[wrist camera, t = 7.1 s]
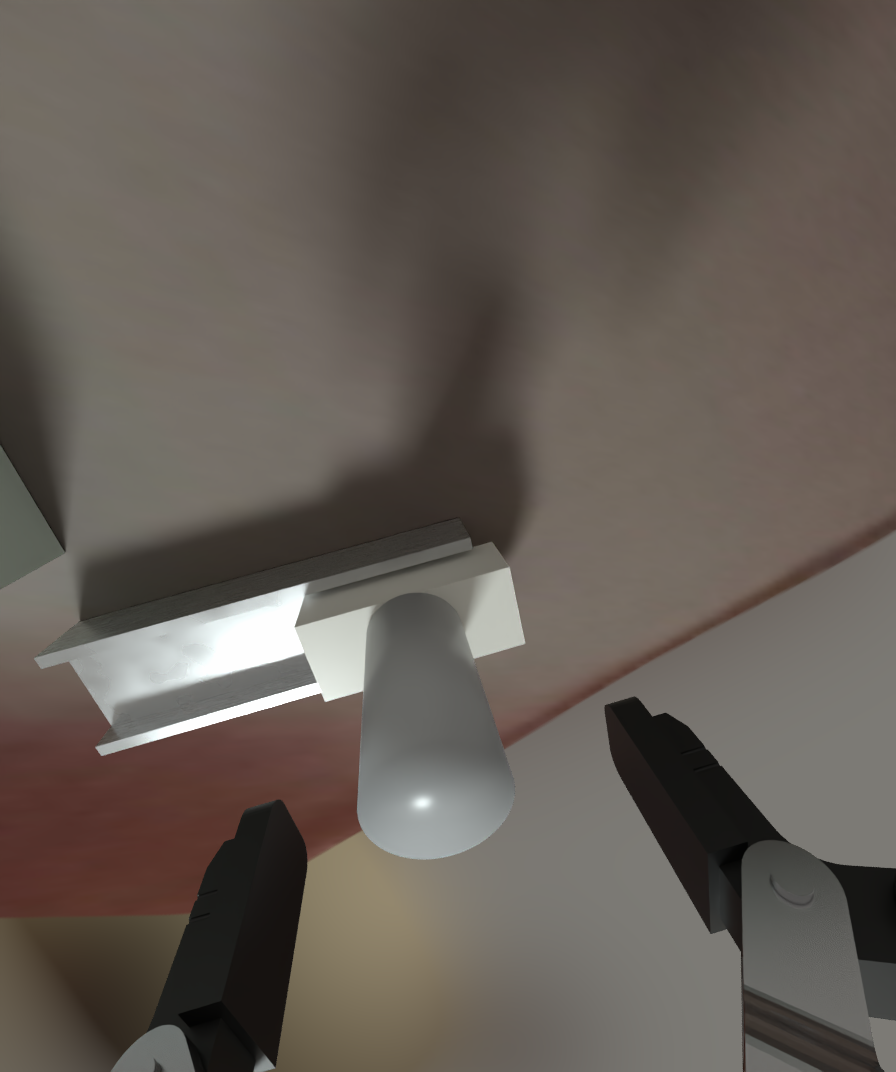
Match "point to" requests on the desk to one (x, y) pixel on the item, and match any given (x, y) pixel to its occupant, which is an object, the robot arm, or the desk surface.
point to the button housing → (21, 528)
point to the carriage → (421, 696)
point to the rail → (222, 641)
